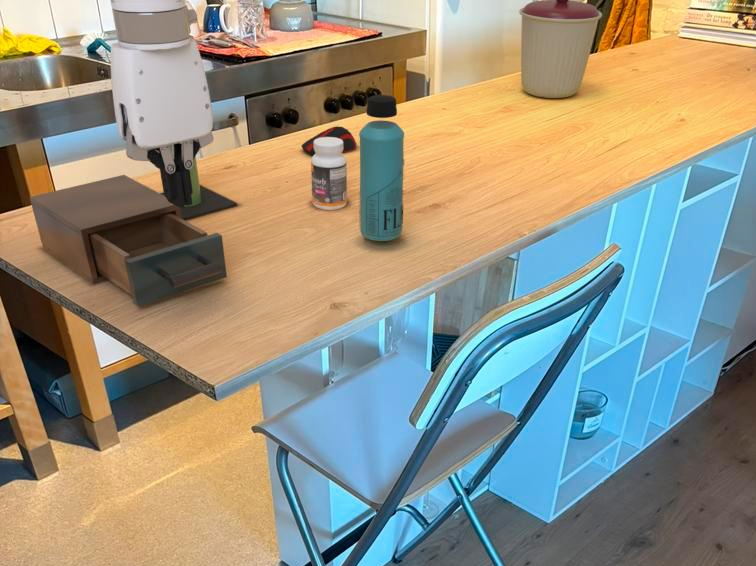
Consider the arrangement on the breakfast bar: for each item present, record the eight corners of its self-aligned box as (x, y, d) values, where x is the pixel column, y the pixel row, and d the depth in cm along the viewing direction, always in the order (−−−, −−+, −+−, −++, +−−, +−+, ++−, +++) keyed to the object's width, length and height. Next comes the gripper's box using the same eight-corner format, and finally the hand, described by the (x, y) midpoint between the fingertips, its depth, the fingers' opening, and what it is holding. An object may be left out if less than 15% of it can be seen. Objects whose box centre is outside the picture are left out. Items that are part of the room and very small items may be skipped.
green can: (180, 209, 129) (171, 146, 123) (164, 200, 132) (154, 138, 126) (207, 202, 132) (199, 140, 126) (191, 193, 134) (182, 132, 128)
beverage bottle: (382, 255, 118) (384, 106, 105) (349, 242, 121) (347, 96, 108) (411, 242, 122) (416, 97, 109) (379, 230, 125) (380, 88, 112)
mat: (173, 224, 126) (172, 220, 125) (134, 203, 132) (134, 199, 132) (237, 206, 132) (237, 203, 132) (197, 187, 139) (197, 183, 138)
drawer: (246, 288, 107) (241, 245, 103) (156, 319, 100) (147, 274, 96) (170, 244, 118) (164, 204, 114) (85, 269, 111) (75, 228, 107)
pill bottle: (305, 204, 133) (302, 140, 127) (332, 196, 136) (330, 133, 130) (327, 214, 130) (325, 149, 124) (354, 205, 133) (353, 141, 127)
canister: (605, 97, 187) (624, -10, 174) (543, 107, 180) (558, -4, 167) (555, 80, 199) (569, -22, 185) (495, 88, 192) (505, -17, 178)
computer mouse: (297, 152, 154) (296, 130, 151) (341, 141, 159) (340, 119, 157) (318, 160, 150) (317, 138, 148) (362, 149, 156) (362, 126, 153)
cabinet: (187, 256, 117) (179, 203, 112) (93, 285, 109) (80, 229, 104) (133, 225, 125) (124, 174, 121) (43, 249, 118) (29, 196, 113)
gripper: (194, 14, 91) (215, 181, 103) (69, 31, 83) (107, 209, 95) (232, 23, 87) (249, 197, 99) (104, 42, 79) (139, 227, 91)
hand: (179, 202), depth 97 cm, fingers closed
